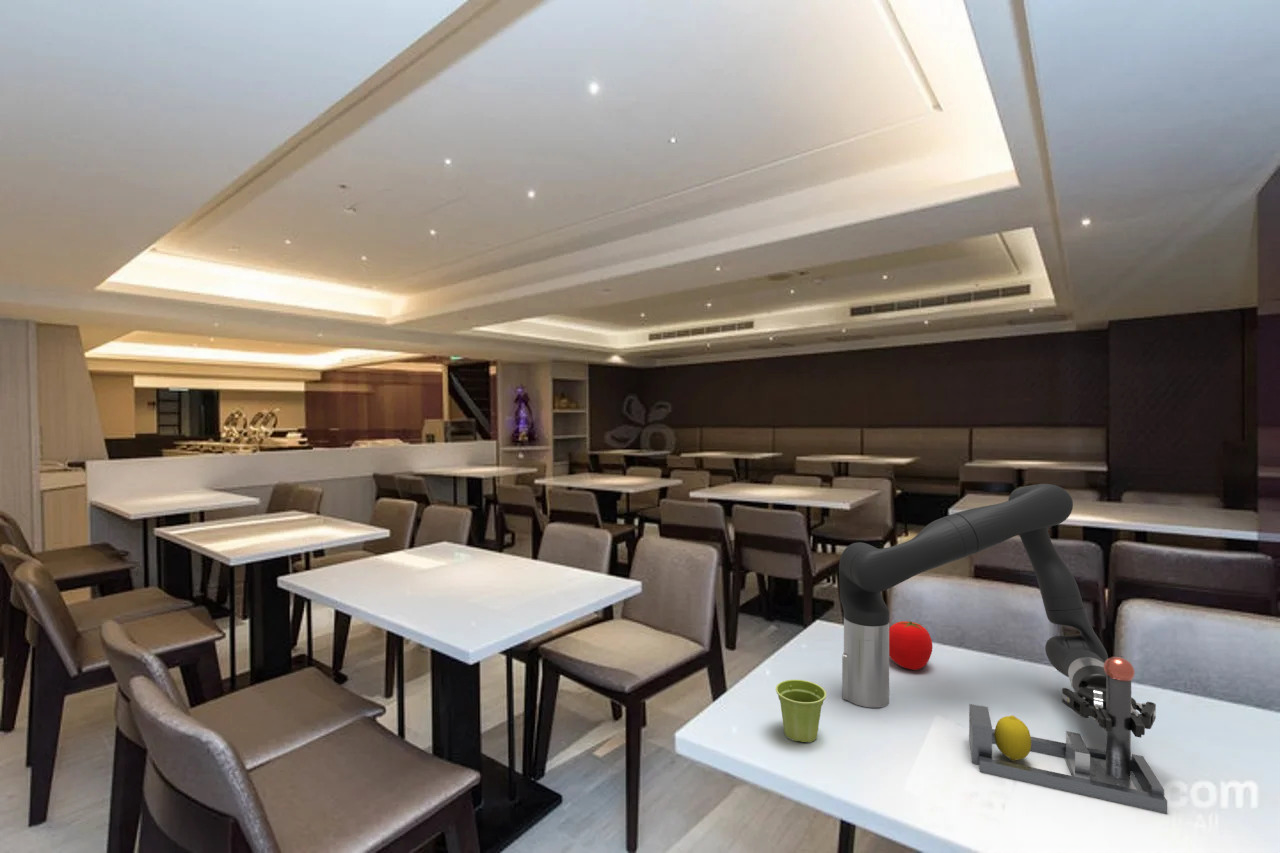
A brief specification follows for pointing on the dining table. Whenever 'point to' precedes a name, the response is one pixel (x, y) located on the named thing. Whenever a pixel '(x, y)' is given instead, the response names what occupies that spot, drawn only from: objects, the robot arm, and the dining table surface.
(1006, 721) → the lemon
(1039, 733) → the dining table surface
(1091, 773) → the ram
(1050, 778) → the frame
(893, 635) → the tomato
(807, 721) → the plant pot
